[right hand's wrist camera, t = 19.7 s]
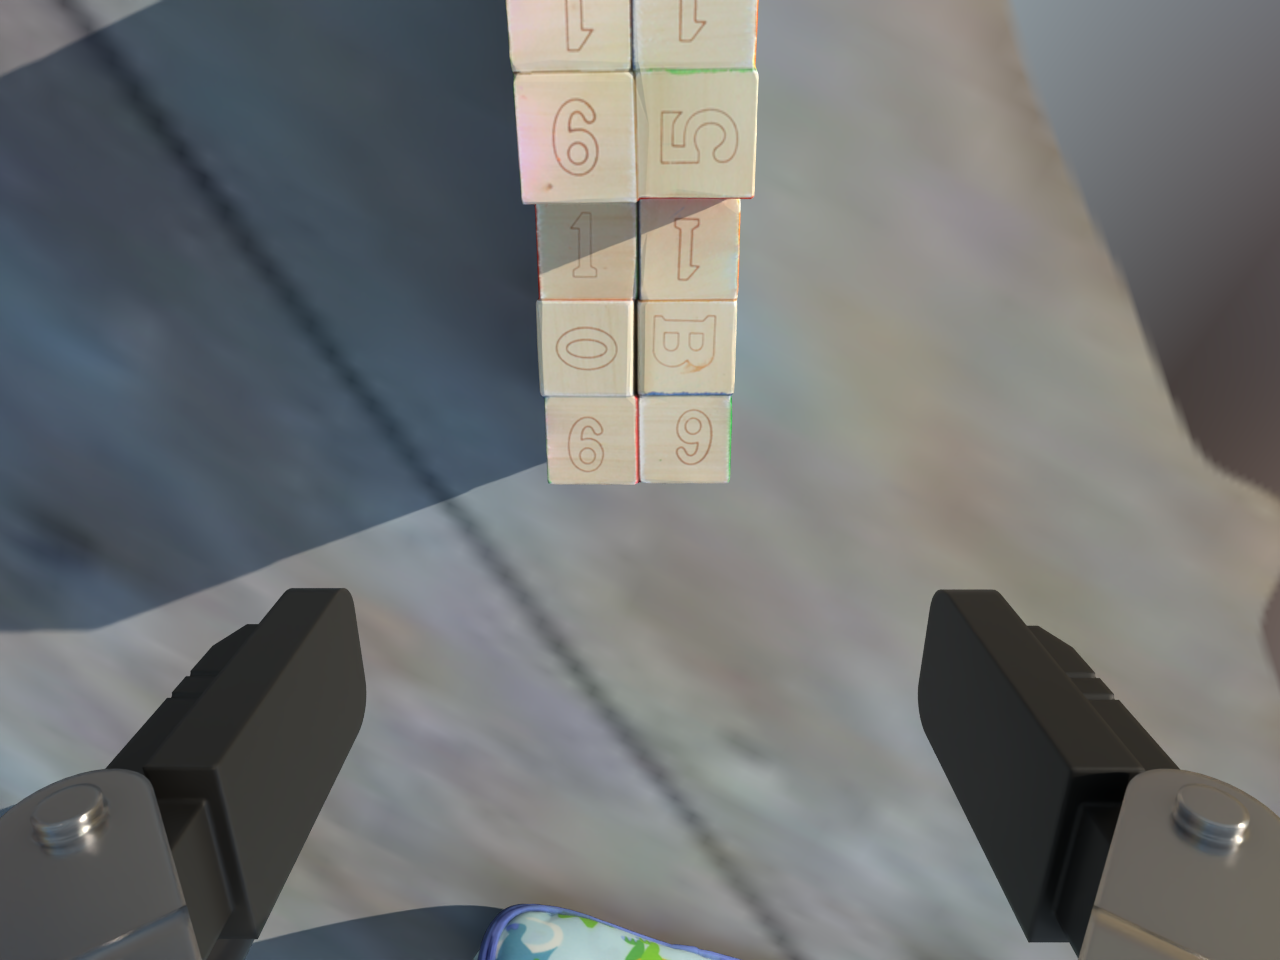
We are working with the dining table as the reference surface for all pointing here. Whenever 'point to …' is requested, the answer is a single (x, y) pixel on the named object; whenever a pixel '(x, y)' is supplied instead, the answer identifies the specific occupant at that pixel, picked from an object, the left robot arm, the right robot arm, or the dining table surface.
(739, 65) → the stack of blocks
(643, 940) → the lunch box
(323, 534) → the dining table surface
